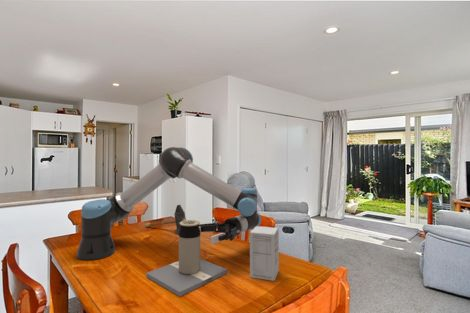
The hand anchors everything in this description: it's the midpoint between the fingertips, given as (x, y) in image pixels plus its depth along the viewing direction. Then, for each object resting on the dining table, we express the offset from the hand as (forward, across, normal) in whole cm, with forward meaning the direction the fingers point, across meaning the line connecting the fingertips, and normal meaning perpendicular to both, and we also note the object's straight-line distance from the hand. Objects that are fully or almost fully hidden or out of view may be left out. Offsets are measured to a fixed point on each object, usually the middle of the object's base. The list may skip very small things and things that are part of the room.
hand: (199, 236), depth 101 cm
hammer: (-22, +56, -14) cm, 62 cm away
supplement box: (-15, -20, -14) cm, 29 cm away
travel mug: (+4, +1, -12) cm, 13 cm away
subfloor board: (+5, +1, -13) cm, 14 cm away
